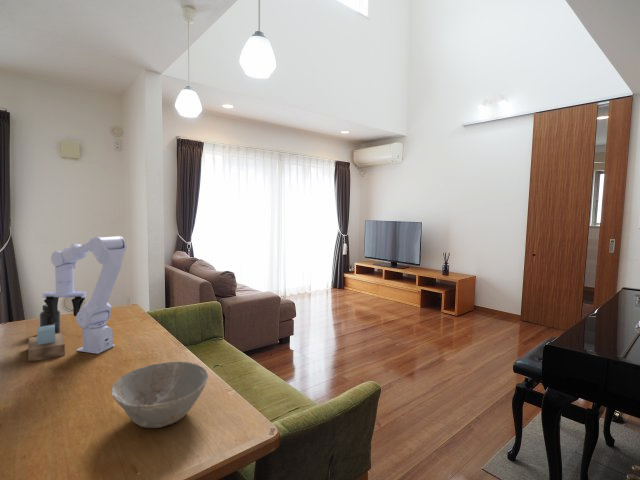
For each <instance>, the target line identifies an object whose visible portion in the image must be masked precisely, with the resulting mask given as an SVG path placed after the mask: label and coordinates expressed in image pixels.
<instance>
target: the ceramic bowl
mask: <svg viewBox="0 0 640 480" xmlns="http://www.w3.org/2000/svg"><path fill="white" fill-rule="evenodd" d="M208 378H209V375H208V372H207V370H206V369H205V368H204V367H203V366H201V365H199V364H197V363H194V362H192V363H191V362H187V361H168V362H159V363H155V364H150V365H146V366H141V367H139V368H136V369H133V370H131V371H130V372H128V373H126V374H124V375H122V376H121V377H119V378H118V379H117V380H115V382H114V383H113V384H112V386H111V395H112V397H113V399H114V400H115V401H116V403H117V404H118V405H119V406H120V407H121V408H122V409H123V410H124V411H125V414H126V415H127V416H128V417H129V419H130V420H131V421H132V422H133V423H135V424H136V425H138V427H139V426H140V427H141V428H145V429H158V428H164V427H165V426H168V425H173V424H174V423H177V422H178V421H180V420H181V419H182V418H184V416H185V415H186V414H187V413H188V412H189V411H190V410H191V409H192V407H193V406H194V404H195V403H196V402H197V400H198V399H199V398H200V395H201V393H202V392H203V390H204V388H205V386H206V384H207V381H208Z"/></svg>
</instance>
